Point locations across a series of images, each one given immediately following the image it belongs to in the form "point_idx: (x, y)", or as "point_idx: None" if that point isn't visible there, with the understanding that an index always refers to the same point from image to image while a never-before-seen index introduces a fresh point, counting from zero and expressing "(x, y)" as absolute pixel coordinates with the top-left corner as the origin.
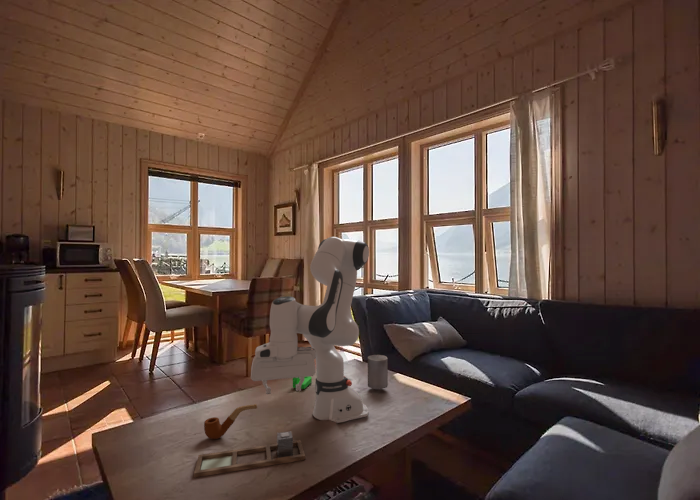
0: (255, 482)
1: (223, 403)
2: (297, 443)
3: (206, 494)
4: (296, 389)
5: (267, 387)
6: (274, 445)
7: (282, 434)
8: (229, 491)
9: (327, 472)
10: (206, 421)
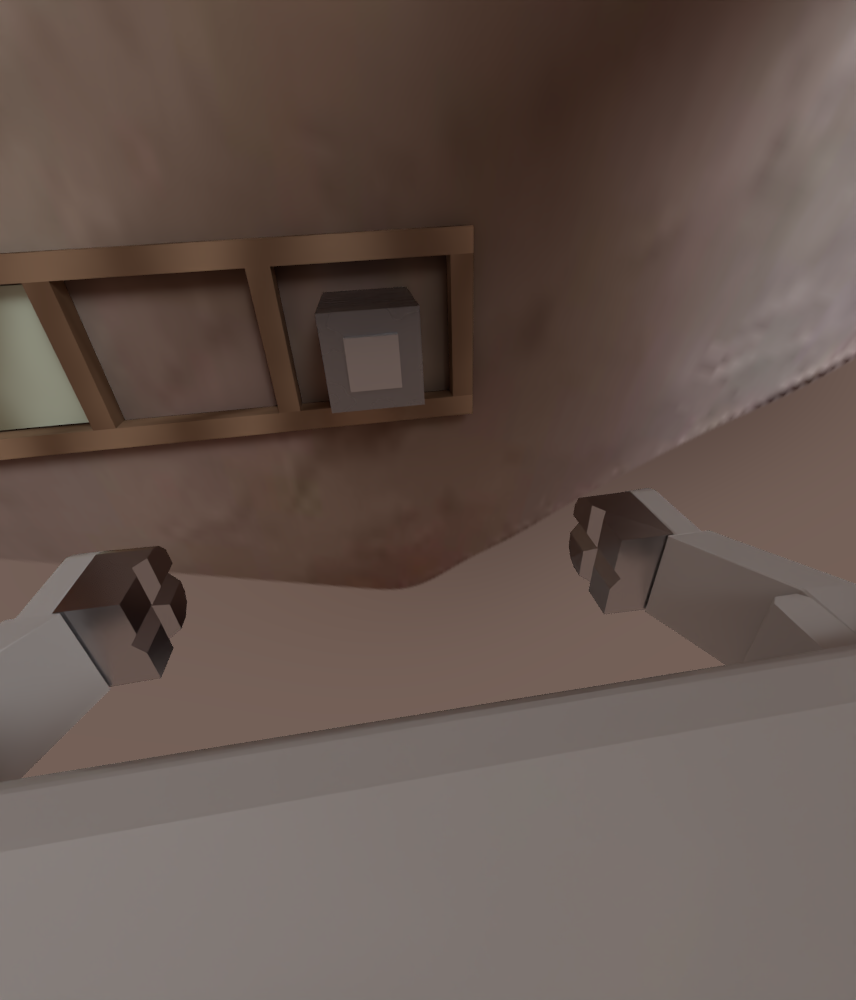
0: (257, 524)
1: None
2: (448, 253)
3: None
4: (580, 573)
5: (85, 710)
6: (300, 259)
7: (357, 362)
8: None
9: (537, 505)
10: None
